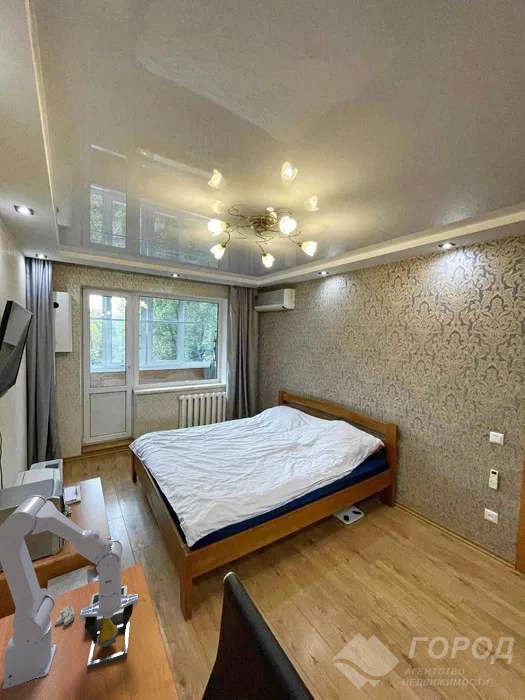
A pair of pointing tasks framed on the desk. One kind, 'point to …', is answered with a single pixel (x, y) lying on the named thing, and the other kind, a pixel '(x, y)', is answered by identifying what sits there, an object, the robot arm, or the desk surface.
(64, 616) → the game controller
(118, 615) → the bin
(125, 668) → the desk surface
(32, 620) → the robot arm
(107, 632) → the drill bit
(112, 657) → the grey square frame
